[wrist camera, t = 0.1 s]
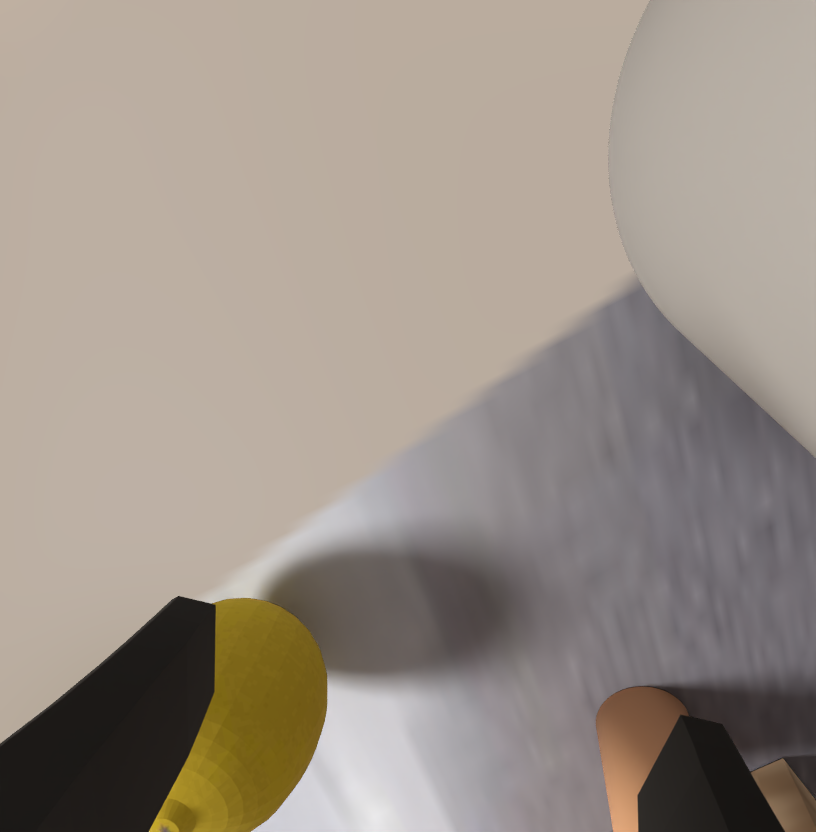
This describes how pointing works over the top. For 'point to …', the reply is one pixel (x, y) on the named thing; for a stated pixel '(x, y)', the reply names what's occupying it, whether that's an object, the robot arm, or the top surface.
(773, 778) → the box
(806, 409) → the cylinder vase
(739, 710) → the top surface
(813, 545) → the top surface
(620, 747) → the peg
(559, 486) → the top surface
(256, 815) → the lemon
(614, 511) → the top surface
